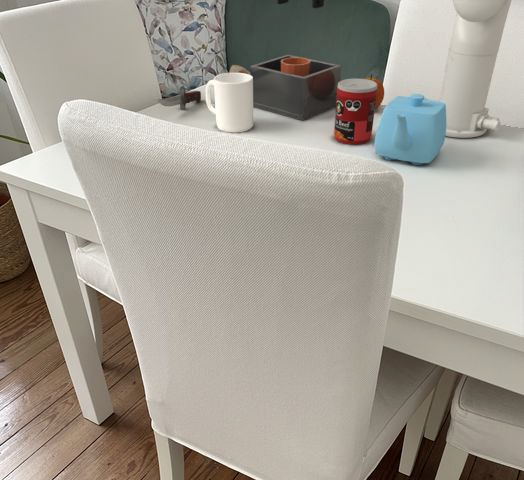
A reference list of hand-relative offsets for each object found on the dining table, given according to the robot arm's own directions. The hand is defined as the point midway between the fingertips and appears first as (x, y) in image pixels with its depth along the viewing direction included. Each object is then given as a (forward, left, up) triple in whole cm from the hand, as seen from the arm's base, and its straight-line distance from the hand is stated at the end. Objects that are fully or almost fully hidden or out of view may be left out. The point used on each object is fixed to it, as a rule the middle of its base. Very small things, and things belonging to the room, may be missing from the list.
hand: (300, 5), depth 124 cm
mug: (+16, +1, -21) cm, 27 cm away
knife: (+19, +21, -21) cm, 35 cm away
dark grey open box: (+1, 0, -21) cm, 21 cm away
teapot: (-36, +11, -21) cm, 44 cm away
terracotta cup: (+1, 0, -20) cm, 20 cm away
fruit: (-14, -9, -21) cm, 27 cm away
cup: (+4, +20, -21) cm, 30 cm away
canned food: (-22, +9, -21) cm, 32 cm away
